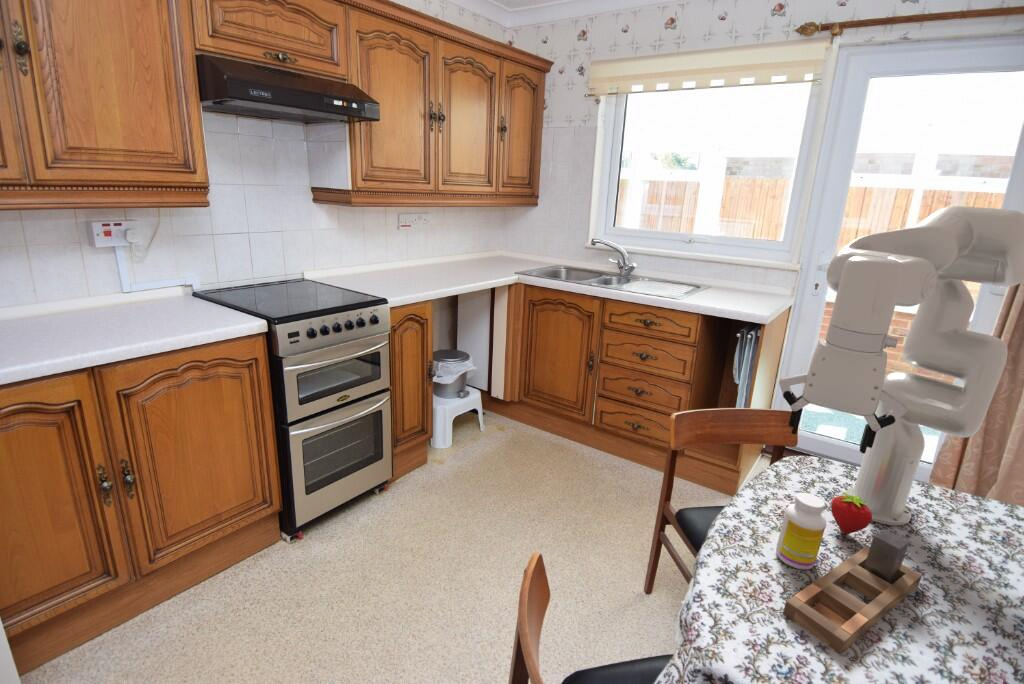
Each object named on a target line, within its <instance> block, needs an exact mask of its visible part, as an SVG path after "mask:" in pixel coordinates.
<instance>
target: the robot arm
mask: <svg viewBox="0 0 1024 684" xmlns="http://www.w3.org/2000/svg"><path fill="white" fill-rule="evenodd" d="M963 281H964V282H970V283H971V282H972V283H977V284H984V285H991V286H994V287H995V286H996V287H997V286H998V287H1004V288H1005V287H1008V288H1009V287H1015V286H1017V285H1019V284H1021V283H1022V282H1024V213H1023V212H1020V211H1018V210H1015V209H1008V208H1007V209H1006V208H995V207H994V208H991V207H978V206H977V207H975V206H964V205H958V206H957V205H956V206H946V207H943V208H940V209H938V210H936V211H935V212H933V213H931V214H930V215H928V216H927V217H926V218H924V219H922V220H921V221H920V222H919V223H917V224H916V225H914V226H912V227H906V228H899V229H894V230H890V231H884V232H883V231H882V232H877V233H872V234H867V235H864V236H860V237H858V238H856V239H853V240H852V241H851V242H849V243H848V244H847V245H845V246H843V247H842V248H841V249H840V250H838V251H837V253H836V254H835V255H834V256H833V258H832V259H831V261H830V262H829V264H828V267H827V271H826V282H827V284H828V287H829V288H830V289H831V290H832V291H833V292H834V293H836V297H835V300H834V303H833V308H832V312H831V314H830V315H831V317H830V319H829V323H828V327H827V332H826V336H825V339H820V340H819V341H818V343H817V344H816V347H815V349H814V352H813V354H812V357H811V360H810V362H809V366H808V368H807V369H808V370H807V372H804V373H800V374H796V375H795V374H794V375H789V376H784V377H781V378H780V379H779V381H778V383H779V386H780V387H779V388H780V390H781V392H782V397H783V399H784V400H785V401H786V403H787V404H788V405H789V406H790V410H791V413H790V418H789V421H788V427H791V428H792V429H791V433H790V434H791V435H797V433H798V429H799V425H800V421H801V418H802V415H803V414H802V413H803V408H804V407H806V406H807V405H810V404H811V405H813V406H814V405H815V406H817V407H823V408H826V409H830V410H834V411H838V412H843V413H847V414H851V415H856V416H860V417H863V419H865V421H866V424H865V426H864V430H863V432H862V436H861V440H860V443H859V452H860V453H861V454H863V458H862V460H861V464H860V467H859V471H858V474H857V478H856V481H855V484H854V488H848V489H846V490H845V491H843V492H844V493H846V494H848V495H850V496H851V495H852V496H853V497H855V496H859V498H858V499H861V500H863V501H866V502H863V503H864V504H866V505H868V506H867V507H868V508H869V510H870V511H871V513H872V521H871V522H875V523H878V522H879V523H878V524H882V525H886V524H887V525H888V526H893V525H894V526H893V527H896V526H897V525H898V526H897V527H899V526H900V525H901V526H905V525H907V524H906V523H908V522H909V521H911V518H912V514H911V512H910V511H909V509H908V508H907V507H906V504H907V501H908V498H909V495H910V492H911V489H912V487H913V486H912V485H913V484H914V481H915V477H916V475H917V471H918V468H919V465H920V462H921V459H922V456H923V454H924V450H925V445H926V444H925V442H926V441H925V437H924V434H923V431H922V429H921V427H920V426H923V427H925V428H926V427H927V428H928V429H933V430H934V431H937V432H941V433H944V434H947V435H951V436H954V437H957V438H958V437H959V438H970V437H972V436H974V435H975V434H976V433H977V432H978V431H979V430H980V428H981V426H982V424H983V422H984V420H985V418H986V415H987V413H988V410H989V408H990V406H991V402H992V400H993V398H994V395H995V392H996V390H997V388H998V386H999V382H1000V380H1001V378H1002V375H1003V373H1004V370H1005V366H1006V364H1007V360H1008V355H1009V353H1008V352H1009V351H1008V346H1007V344H1006V342H1004V340H1002V339H1001V338H999V337H996V336H994V335H991V334H986V333H982V332H976V331H972V330H968V325H969V322H970V321H971V320H970V319H971V317H972V314H973V312H974V310H975V302H974V299H973V297H972V294H971V292H970V290H969V289H968V287H967V286H966V284H965V283H964V282H963ZM918 305H919V306H918ZM896 306H897V307H914V306H918V307H917V309H916V310H917V311H916V314H915V316H914V318H913V321H912V323H911V326H910V329H909V331H908V333H907V336H906V339H905V342H904V346H903V350H902V358H903V360H904V361H905V362H906V363H907V364H909V365H910V366H913V367H915V368H919V369H921V370H924V371H929V372H931V373H935V374H939V375H944V376H946V377H950V378H955V379H959V380H960V381H962V382H963V385H964V386H959V385H956V384H951V383H949V382H944V381H941V380H938V379H935V378H932V377H927V376H924V375H920V374H917V373H911V372H905V371H894V372H891V373H888V374H886V369H887V366H888V365H887V363H888V352H886V351H885V350H884V349H886V348H896V347H897V346H898V341H899V338H894V337H893V336H890V335H889V333H888V332H889V330H890V326H891V322H892V320H893V316H894V313H895V308H896ZM799 384H800V385H801V384H803V388H802V394H800V395H799V396H796V395H795V394H794V392H793V391H792V388H791V386H795V385H799ZM853 491H854V493H853ZM844 493H843V495H842V496H846V495H845V494H844ZM846 497H847V496H846ZM909 523H910V522H909ZM909 523H908V524H909ZM904 524H905V525H904ZM887 525H886V526H887Z"/></svg>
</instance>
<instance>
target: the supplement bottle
mask: <svg viewBox="0 0 1024 684" xmlns="http://www.w3.org/2000/svg"><path fill="white" fill-rule="evenodd" d="M825 506H826V504H825V502H824V500H823V499H822V498H820V497H819V496H817V495H815V494H812V493H809V492H798V493H796V495H795V497H794V503H791V504H790V505H788V506H787V507H786V510H785V513H784V517H783V521H782V525H781V529H780V530H779V531H780V533H779V535H778V540H777V544H776V549H775V552H776V555H777V557H778V559H779V560H781V561H782V562H783V563H784V564H786V565H787V566H789V567H792V568H795V569H799V570H811V569H812V568H814V566H815V565H816V562H817V559H818V554H819V551H820V547H821V544H822V541H823V540H822V539H823V536H824V532H825V530H826V526H827V519H826V517H825V515H824V514H823V512H824V510H825V509H824V508H825Z"/></svg>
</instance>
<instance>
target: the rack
mask: <svg viewBox="0 0 1024 684" xmlns="http://www.w3.org/2000/svg"><path fill="white" fill-rule="evenodd" d="M869 550H870V546H869V545H866V546H864V547H863V548H862V549H860V550H859V551H858V552H856V553H854V554H852V556H850V557H849V558H847V559H846V560H844V561H842V562H840V564H838V565H836V567H834V568H832V569H831V570H829V571H828V572H827V573H825V574H824V575H822V576H821V577H819V578H818V579H816V580H815V581H813V582H812V583H811V584H810V585H807V586H806V587H805V588H803V589H802V590H801V591H799V592H797V593H795V594H794V595H793V596H791V597H790V598H788V599H787V600H786V602H785V606H784V608H783V612H782V613H783V615H785V616H786V617H787V618H789V619H790V620H792V621H793V622H794V623H796V624H797V625H799V626H800V627H801V626H802V627H801V628H803V629H804V630H806V631H807V632H808V631H809V632H808V633H810V634H811V635H813V636H814V637H815V638H817V639H818V640H819V641H821V642H823V643H824V644H825V645H826V646H827V647H830V648H831V650H834V651H835V653H837V654H839V655H841V654H842V653H844V651H846V650H847V649H848V648H849V647H851V645H853V644H854V643H855V642H856V641H857V640H859V638H861V637H862V636H863V635H865V633H867V632H868V631H869V630H870V629H871V628H872V627H873V626H874V625H876V624H877V623H878V622H880V620H881V619H882V618H884V617H885V616H886V615H887V614H888V613H890V612H891V611H892V610H893V609H894V608H895V607H897V606H898V605H899V604H900V603H901V602H902V601H903V600H904V599H905V598H906V597H908V596H909V595H910V594H911V593H912V592H914V591H915V590H916V589H917V588H918V587H919V585H920V582H921V579H922V577H923V575H922V574H921V573H919V572H917V571H916V570H914V569H912V568H909V567H908V566H906V565H904V564H903V563H902V565H901V568H900V571H899V573H898V576H897V579H896V582H895V583H894V584H892V585H891V584H890V583H888V582H886V581H884V580H883V579H881V578H879V577H877V576H876V575H874V574H872V573H871V572H869V571H867V570H865V569H864V565H865V562H866V559H867V556H868V553H869ZM844 584H846V585H847V586H849V587H850V588H852V589H854V590H855V591H857V592H858V593H860V594H861V595H863V596H864V597H865V598H866V597H867V598H868V599H870V600H871V601H870V602H869V603H868V604H866V603H865V602H863V601H862V600H861V599H859V598H857V597H855V596H854V595H852V594H851V593H849V592H848V591H846V590H844V589H843V588H841V587H842V585H844Z"/></svg>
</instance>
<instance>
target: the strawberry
mask: <svg viewBox="0 0 1024 684" xmlns="http://www.w3.org/2000/svg"><path fill="white" fill-rule="evenodd" d="M844 492H845V491H842V493H843V495H844V494H845V495H846V496H847V497H846V496H843V495H840V496H839V495H838V496H836V497H834V498H833V499H832V501H831V503H830V508H831V515H832V516H833V519H834V521H835V523H836V524H837V526H838V528H839V530H840V532H841V533H843V534H844V535H850V534H853V533H857V532H859V531H861V530H864V529H866V528H867V527H868V526H869V525H870V524H871V523H872V522H873V521H872V513H871V511H870V510H869V508H868V507H867V506H868V505H866V504H864V503H863V502H866V501H863V500H861V499H858V498H859V496H855V497H853V496H852V495H851V496H850V495H848V494H846V493H844ZM853 493H854V491H853Z"/></svg>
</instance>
